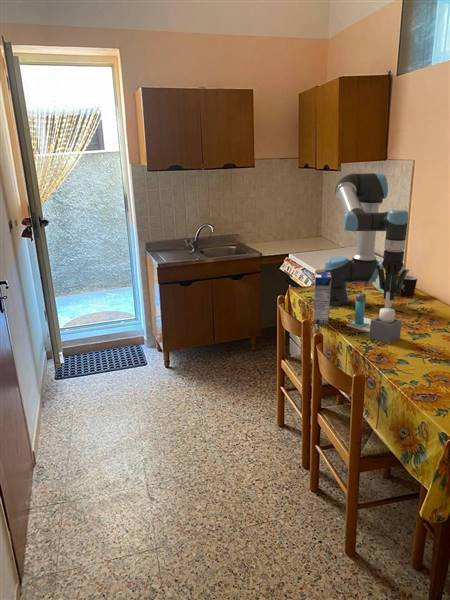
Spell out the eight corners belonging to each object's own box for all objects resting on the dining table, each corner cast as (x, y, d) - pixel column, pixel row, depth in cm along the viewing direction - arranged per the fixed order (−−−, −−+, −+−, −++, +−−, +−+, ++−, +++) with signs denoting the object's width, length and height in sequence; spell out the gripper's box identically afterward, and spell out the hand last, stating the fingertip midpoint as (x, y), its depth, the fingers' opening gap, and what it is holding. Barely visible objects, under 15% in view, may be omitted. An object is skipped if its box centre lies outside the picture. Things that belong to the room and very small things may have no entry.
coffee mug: (416, 297, 240) (419, 279, 237) (399, 297, 242) (402, 279, 239) (412, 291, 251) (414, 274, 248) (396, 290, 253) (398, 273, 250)
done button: (375, 321, 186) (377, 310, 184) (383, 318, 190) (384, 307, 188) (389, 325, 182) (390, 313, 180) (396, 321, 186) (398, 310, 184)
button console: (369, 337, 188) (370, 320, 186) (380, 332, 194) (381, 314, 192) (389, 344, 182) (391, 325, 180) (399, 338, 188) (402, 320, 185)
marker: (352, 323, 202) (354, 294, 198) (357, 321, 205) (359, 292, 201) (360, 325, 199) (362, 296, 195) (365, 323, 202) (367, 294, 198)
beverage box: (312, 324, 204) (315, 277, 197) (313, 316, 214) (315, 271, 208) (328, 325, 203) (331, 278, 196) (327, 316, 213) (330, 271, 206)
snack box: (393, 295, 246) (396, 268, 241) (383, 295, 246) (385, 268, 241) (381, 284, 266) (383, 259, 261) (371, 284, 266) (373, 259, 261)
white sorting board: (346, 325, 202) (346, 323, 202) (363, 318, 211) (363, 316, 211) (374, 334, 192) (375, 332, 192) (391, 326, 201) (391, 324, 201)
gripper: (374, 249, 179) (368, 305, 186) (405, 253, 170) (398, 312, 177) (383, 246, 184) (378, 301, 191) (414, 251, 174) (407, 308, 182)
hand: (388, 306), depth 184 cm, fingers closed
